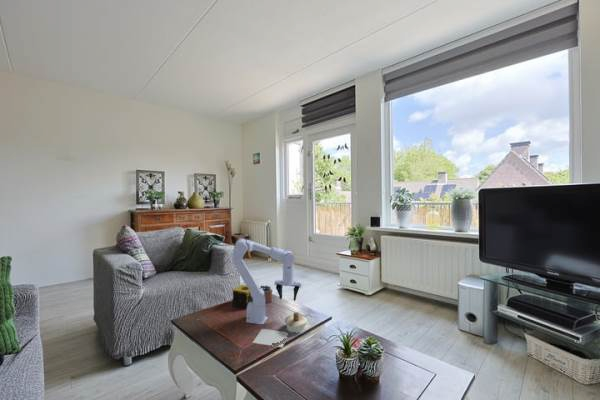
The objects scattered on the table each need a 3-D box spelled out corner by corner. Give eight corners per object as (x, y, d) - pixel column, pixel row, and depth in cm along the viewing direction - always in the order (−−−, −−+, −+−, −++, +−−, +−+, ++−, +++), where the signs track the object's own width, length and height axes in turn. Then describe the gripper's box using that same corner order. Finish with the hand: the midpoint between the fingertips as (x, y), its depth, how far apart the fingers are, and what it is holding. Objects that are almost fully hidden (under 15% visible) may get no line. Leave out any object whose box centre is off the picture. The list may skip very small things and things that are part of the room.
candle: (231, 306, 155) (231, 290, 154) (241, 300, 164) (241, 284, 164) (246, 310, 151) (247, 292, 151) (255, 302, 161) (256, 286, 160)
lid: (281, 324, 128) (281, 317, 128) (288, 314, 139) (289, 307, 138) (303, 328, 125) (304, 320, 125) (309, 317, 136) (309, 310, 135)
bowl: (284, 332, 129) (284, 324, 129) (289, 322, 138) (289, 315, 137) (303, 334, 127) (303, 326, 127) (306, 325, 136) (306, 317, 136)
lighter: (272, 301, 163) (272, 285, 163) (271, 303, 160) (271, 287, 160) (259, 300, 164) (260, 284, 164) (258, 302, 161) (258, 286, 160)
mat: (252, 343, 119) (252, 342, 119) (262, 329, 131) (262, 328, 131) (282, 348, 116) (282, 347, 116) (289, 333, 128) (289, 332, 128)
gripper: (272, 275, 139) (272, 300, 140) (299, 277, 136) (299, 303, 137) (276, 271, 146) (276, 295, 147) (302, 273, 143) (302, 298, 143)
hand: (287, 299), depth 142 cm, fingers open, 7 cm apart
